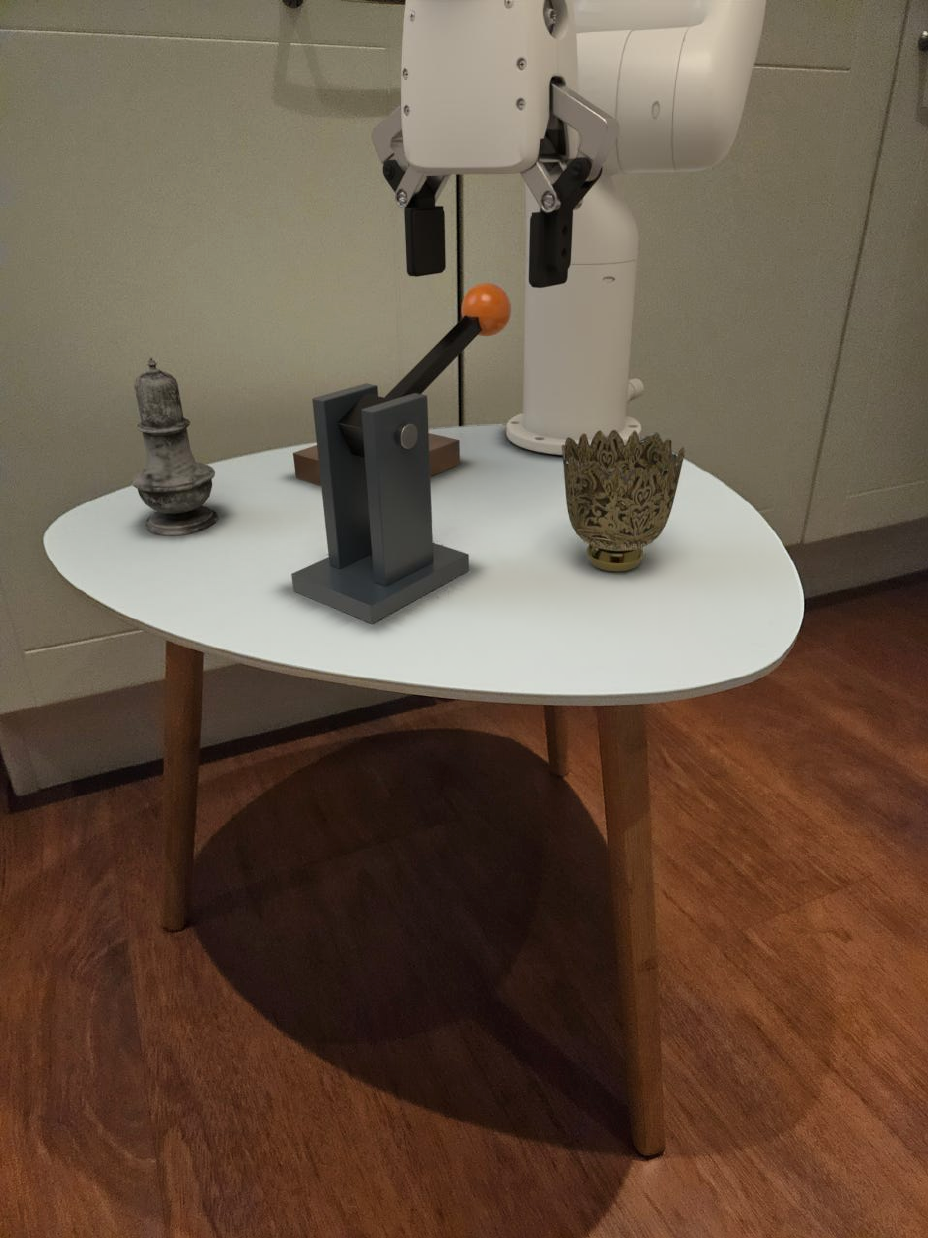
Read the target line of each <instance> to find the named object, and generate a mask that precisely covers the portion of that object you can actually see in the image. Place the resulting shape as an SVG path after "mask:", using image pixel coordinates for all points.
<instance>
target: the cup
mask: <svg viewBox="0 0 928 1238" xmlns="http://www.w3.org/2000/svg"><path fill="white" fill-rule="evenodd" d="M606 437H607V438H606ZM606 437H605V435H604V434H603V433H602V431H600V430H599V431H598V432H597V433H596V434H595V435H594V437H593V439H592V441H591V444H590V445H589V443H590V442H589V443H588V439H587V435H586V434H585V433H583V434H582V435H581V436H580V439H579V444H577V443H576V442H575V441H574V440H573V439H572V438H569V437H568V438H567V439H566V441H565V445H562V454H563V455H562V462H563V477H564V491H565V503H566V509H567V514H568V518H569V522H570V524H571V528H572V529H573V530H574V532H575V533H576V535H577V536H578V537H579V538H580V539H581V540H582V541H583V542H585V543H586V544H588V545H587V547H586V555H587V558H588V561H589V562H590V563H591V564H592V566H594V567H596V568H598V569H601V570H604V571H608V572H625V571H629V570H632V569H635V568H636V567H638V566H639V565H640V563H641V561H642V560H643V558H644V555H645V551H644V547H647V546H648V545H650V544H652V543H653V542H654V541H655V540H657V539H658V538H659V536H660V535H661V534H662V532H663V531H664V530H665V528H666V525H667V524H668V521H669V518H670V515H671V512H672V509H673V505H674V502H675V497H676V492H677V488H678V484H679V479H680V475H681V472H682V468H683V462H684V458H685V453H686V452H685V447H684V446H682V447H681V448H680V449H679V450H678V452H677V453H673V449H672V444H673V443H672V439H671V438H667V439H666V440H663V438H662V435H661V434H660V433H659V432H652V433H650V435H646V436H645V437H644V438H643V439H640V440H639V436H638V434H637V431H636V430H634V431H633V432H632V433H631V435H630V436H629V438H628V441H627V443H626V445H624V441H623V439H622V438H621V437H620V435H619V434H618V432H617V431H616V430H612V431H611V432H610V434H609V436H606Z"/></svg>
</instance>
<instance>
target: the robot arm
mask: <svg viewBox="0 0 928 1238" xmlns="http://www.w3.org/2000/svg"><path fill="white" fill-rule="evenodd" d="M404 2H405V4H404V14H403V25H402V26H403V27H402V41H401V42H402V43H401V63H400V64H401V66H400V72H401V73H400V104H399V105H398V106H396V108H395V109H394V110H392V111H391V112H390V113H389V114H388V115H387V116H386V117H385V118H384V119H383V120H382V121H380V122H379V123H378V124H377V125H376V126H375V127H374V128H373V129H372V131H371V140H372V143H373V146H374V148H375V152H376V154H377V156H378V159H379V161H380V164H382V176H383V177H384V179H385V180H386V182H387V183H388V185H389V186H390V188H391V189H392V191H393V192H394V201H395V203H396V205H397V207H399V208H400V209H403V215H404V237H405V238H404V240H405V264H406V265H405V266H406V274H407V275H408V277H415V278H416V277H424V276H431V275H437V274H438V275H439V274H442V273H444V272H445V270H446V269H447V267H446V266H447V262H446V261H447V255H446V253H447V252H446V214H445V213H446V212H445V210H444V206H443V205H438V206H437V205H436V203H437V201H438V199H440V198H439V197H440V196H441V194H442V193H443V191H444V189H445V187H446V185H447V184H448V181H449V180H450V178H451V176H452V175H513V174H516V175H517V174H520V176H521V177H522V179H523V180H524V189H525V190H524V191H525V192H524V193H525V273H524V274H525V275H524V276H525V278H524V334H523V335H524V340H523V390H522V391H523V393H522V395H523V397H522V398H523V399H522V401H523V403H522V408H523V409H522V413H521V412H520V413H518V414H517V415H514V416H512V417H511V418H510V419H509V420H508V421H507V423H506V429H505V431H506V437H507V439H508V440H509V441H510V442H512V444H514V445H516V446H517V447H520V448H522V449H525V450H529V451H532V452H536V453H541V454H548V455H556V456H563V454H562V445H565V441H566V439H567V438H568V437H569V438H572V439H573V440H574V441H575V442H576V443H577V444H579V439H580V436H581V435H582V434H583V433H585V434H586V435H587V439H588V443H589V442H590V443H589V445H590V444H591V441H592V439H593V437H594V435H595V434H596V433H597V432H598V431H599V430H600V431H602V433H603V434H604V435H605V437H606V436H609V434H610V432H611V431H612V430H616V431H617V432H618V434H619V435H620V437H621V438H622V439H623V441H624V445H626V443H627V441H628V438H629V436H630V435H631V433H632V432H633V431H634V430H636V431H637V434H638V436H639V440H641V436H642V424H641V423H640V422H639V421H638V420H637V419H636V418H634V417H632V416H630V415H628V414H627V408H628V404H629V403H630V402H631V401H634V400H636V399H638V398H640V397H641V396H643V394H644V393H645V384H644V382H643V381H642V380H641V379H640V378H636V377H635V378H631V379H629V375H630V361H631V348H632V336H633V335H632V334H633V324H634V323H633V322H634V308H635V295H636V284H637V271H638V270H637V269H638V268H637V267H638V258H639V257H638V256H639V242H640V241H639V239H640V237H639V230H638V226H637V221H636V219H635V217H634V214H633V212H632V210H631V209H630V207H629V205H628V204H627V202H626V201H625V199H624V197H623V196H622V193H621V192H620V191H619V189H618V188H617V187H616V185H615V184H614V181H613V179H612V176H614V175H625V174H633V173H635V174H639V173H640V174H641V173H642V174H644V173H645V174H647V173H649V174H650V173H652V174H653V173H659V174H661V173H691V172H693V173H694V172H701V171H706V170H708V169H711V168H714V167H715V166H717V165H718V164H720V163H721V162H722V161H723V160H724V159H725V157H727V155H728V154H729V152H730V150H731V149H732V146H733V144H734V142H735V140H736V137H737V134H738V131H739V129H740V124H741V121H742V117H743V114H744V109H745V105H746V101H747V96H748V92H749V87H750V85H751V79H752V75H753V70H754V67H755V63H756V58H757V54H758V49H759V45H760V41H761V37H762V31H763V27H764V26H763V25H764V19H765V13H766V6H767V0H405V1H404ZM606 438H607V437H606Z"/></svg>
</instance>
